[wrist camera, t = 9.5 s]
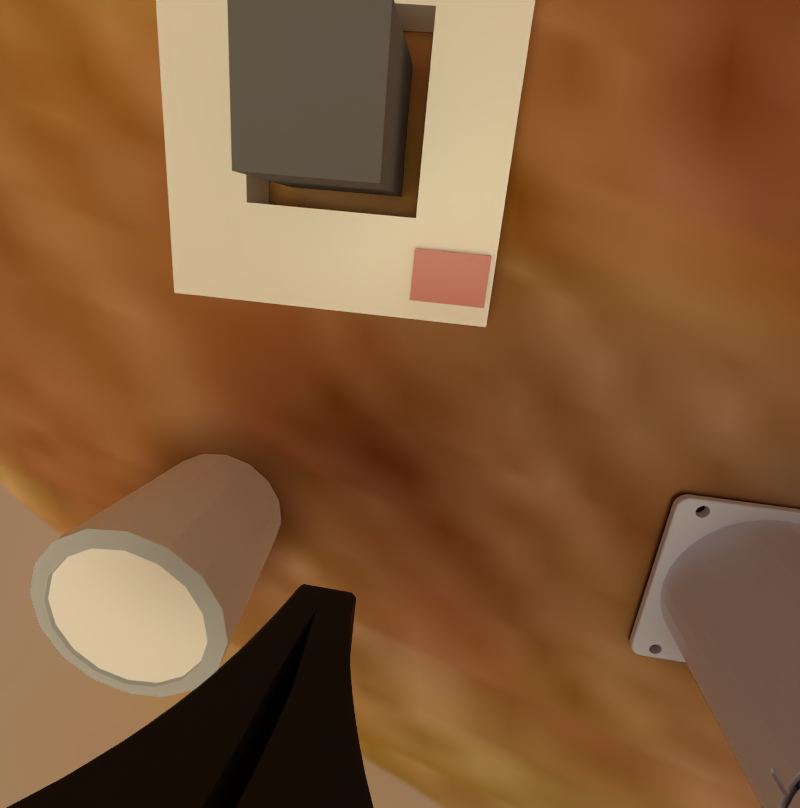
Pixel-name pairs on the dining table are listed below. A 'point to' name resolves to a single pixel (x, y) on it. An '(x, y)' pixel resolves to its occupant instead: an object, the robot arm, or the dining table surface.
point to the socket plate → (337, 230)
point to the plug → (319, 93)
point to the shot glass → (159, 576)
